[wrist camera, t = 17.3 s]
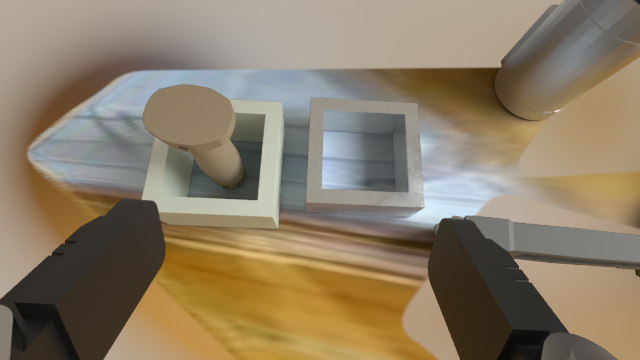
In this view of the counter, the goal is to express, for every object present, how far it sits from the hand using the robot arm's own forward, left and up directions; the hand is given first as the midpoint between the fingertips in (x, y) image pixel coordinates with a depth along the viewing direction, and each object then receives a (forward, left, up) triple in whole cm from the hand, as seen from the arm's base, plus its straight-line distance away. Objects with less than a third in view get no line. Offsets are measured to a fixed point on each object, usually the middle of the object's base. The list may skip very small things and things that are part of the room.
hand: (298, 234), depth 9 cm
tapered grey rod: (-3, +27, -28) cm, 39 cm away
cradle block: (-10, -9, -27) cm, 30 cm away
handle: (-10, -9, -27) cm, 30 cm away
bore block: (-12, +6, -27) cm, 30 cm away
